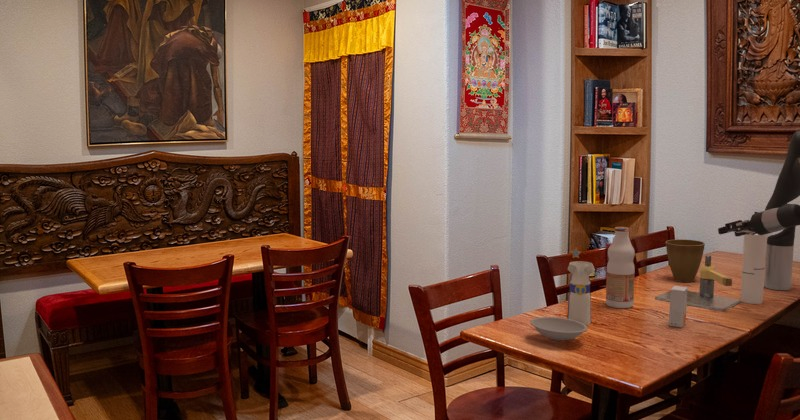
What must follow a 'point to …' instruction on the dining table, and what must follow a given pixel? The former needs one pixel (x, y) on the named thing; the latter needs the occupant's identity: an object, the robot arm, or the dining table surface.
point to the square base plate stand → (705, 295)
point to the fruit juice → (620, 271)
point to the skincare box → (678, 306)
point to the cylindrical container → (753, 268)
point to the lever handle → (714, 275)
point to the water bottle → (580, 290)
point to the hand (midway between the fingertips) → (727, 232)
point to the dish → (558, 327)
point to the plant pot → (684, 258)
